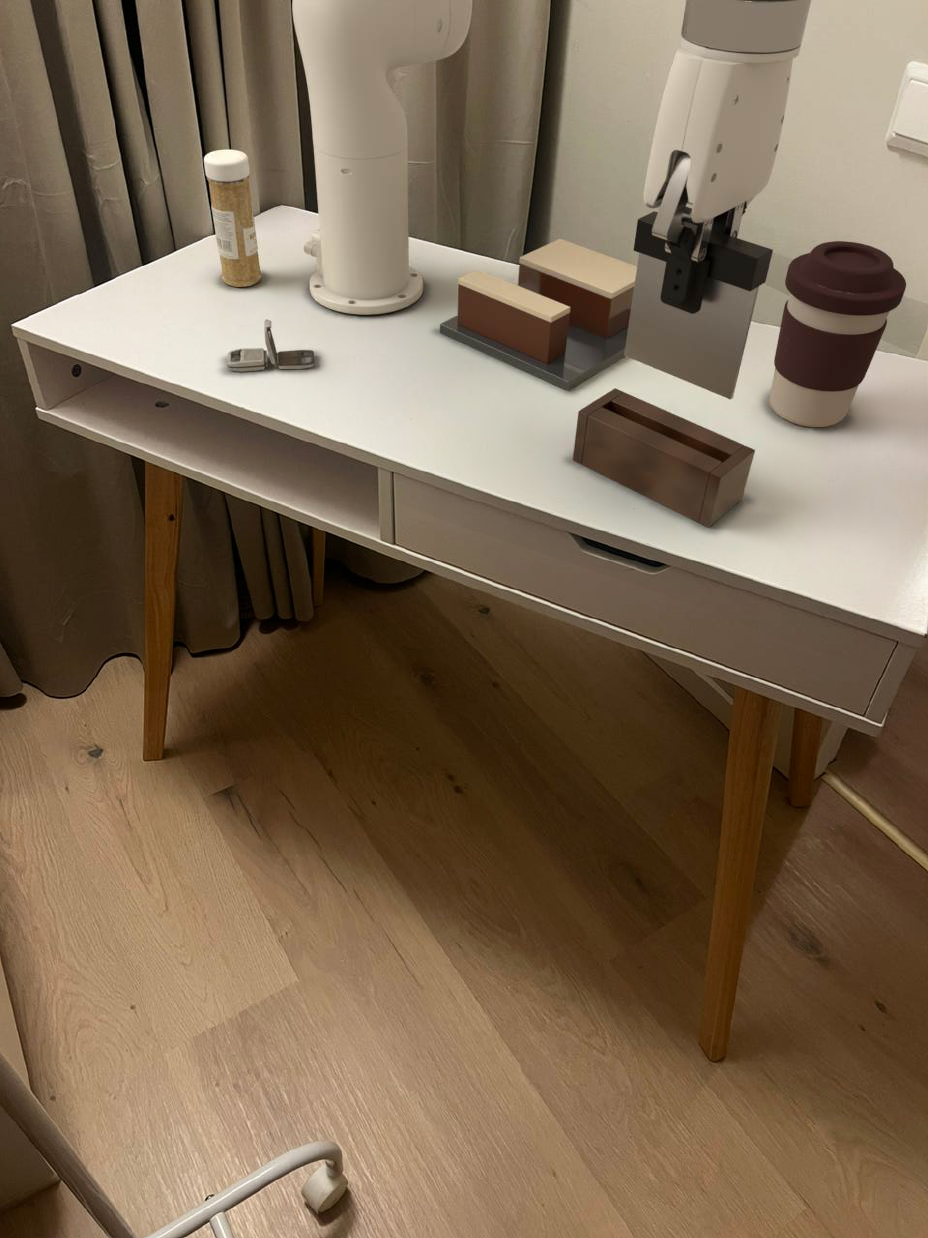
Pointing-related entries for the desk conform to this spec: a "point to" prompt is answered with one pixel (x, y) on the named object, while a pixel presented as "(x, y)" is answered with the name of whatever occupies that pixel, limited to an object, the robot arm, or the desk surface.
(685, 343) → the bench scraper
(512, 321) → the cake slice
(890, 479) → the desk surface
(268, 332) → the strap clip
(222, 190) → the sprinkles bottle
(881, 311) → the coffee cup
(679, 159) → the robot arm
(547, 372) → the cake board
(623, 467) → the block
